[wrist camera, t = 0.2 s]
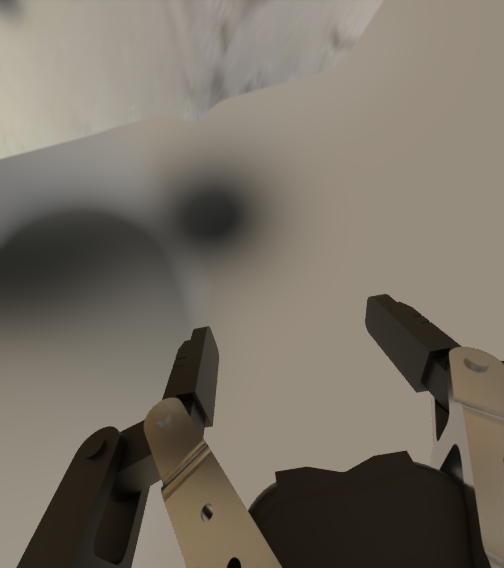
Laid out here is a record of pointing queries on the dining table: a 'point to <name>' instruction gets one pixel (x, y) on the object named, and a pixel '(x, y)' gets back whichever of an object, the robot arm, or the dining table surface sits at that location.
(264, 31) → the dining table surface
